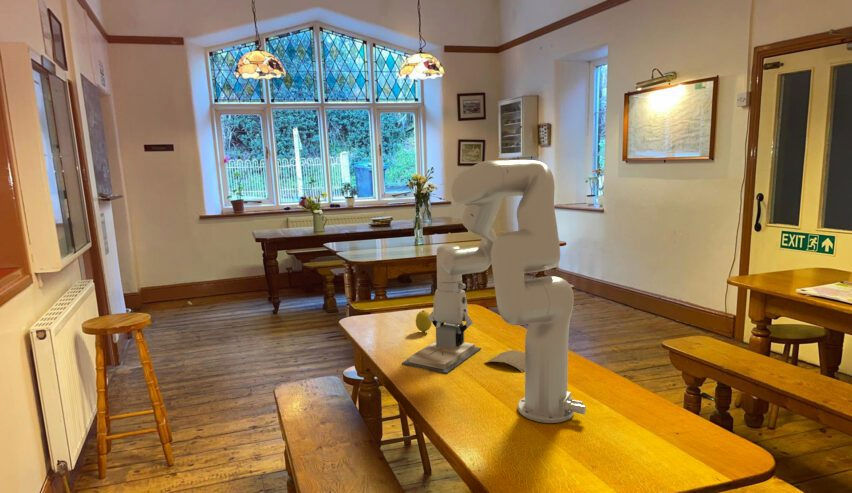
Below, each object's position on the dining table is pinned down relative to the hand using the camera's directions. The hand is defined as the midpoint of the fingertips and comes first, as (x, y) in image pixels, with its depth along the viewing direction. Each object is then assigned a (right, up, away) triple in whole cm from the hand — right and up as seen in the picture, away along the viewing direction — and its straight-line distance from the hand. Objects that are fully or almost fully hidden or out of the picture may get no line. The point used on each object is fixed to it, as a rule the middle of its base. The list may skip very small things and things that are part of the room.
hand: (450, 342), depth 159 cm
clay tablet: (+17, -5, -10) cm, 20 cm away
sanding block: (0, -1, 0) cm, 1 cm away
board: (-2, -4, -4) cm, 6 cm away
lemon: (-8, 0, +19) cm, 21 cm away
